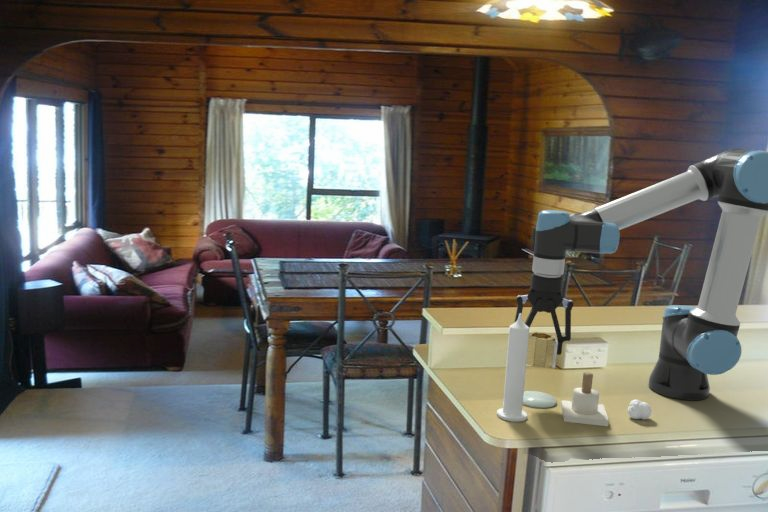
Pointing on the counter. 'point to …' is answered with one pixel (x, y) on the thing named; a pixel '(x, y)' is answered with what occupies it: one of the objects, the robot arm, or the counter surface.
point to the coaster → (538, 399)
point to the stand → (585, 405)
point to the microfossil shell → (639, 410)
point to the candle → (515, 372)
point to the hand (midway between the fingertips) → (538, 364)
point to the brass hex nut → (540, 349)
